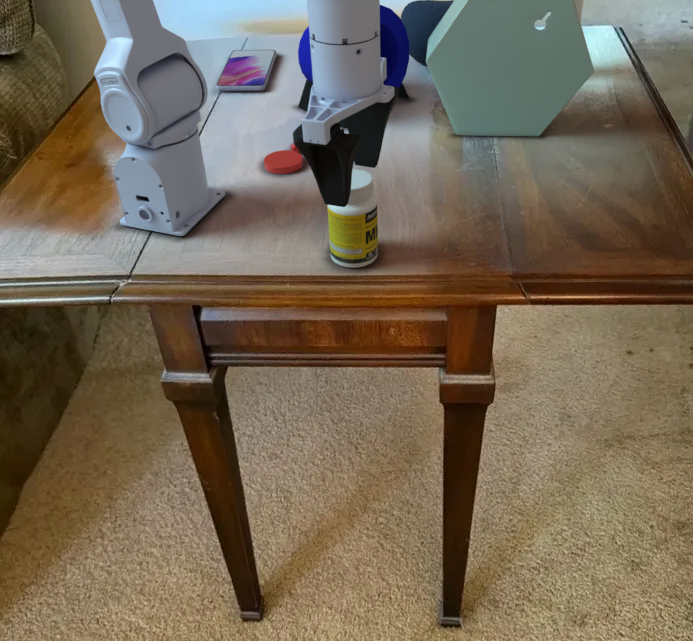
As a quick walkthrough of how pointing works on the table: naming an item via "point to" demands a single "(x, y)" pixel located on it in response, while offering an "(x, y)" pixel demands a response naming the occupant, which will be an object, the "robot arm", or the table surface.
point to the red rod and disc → (284, 161)
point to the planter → (507, 64)
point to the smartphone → (246, 70)
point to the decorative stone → (422, 24)
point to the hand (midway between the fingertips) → (351, 183)
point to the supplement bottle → (355, 224)
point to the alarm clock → (391, 48)
